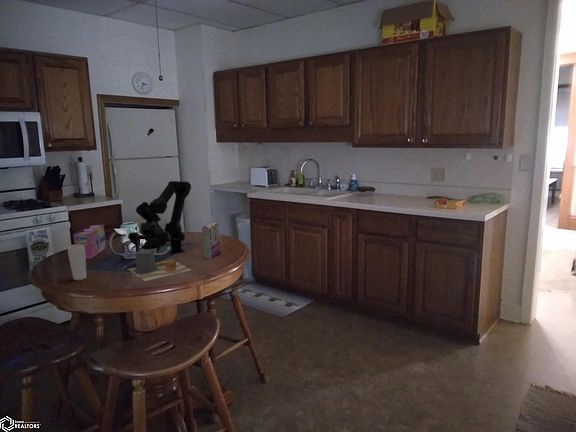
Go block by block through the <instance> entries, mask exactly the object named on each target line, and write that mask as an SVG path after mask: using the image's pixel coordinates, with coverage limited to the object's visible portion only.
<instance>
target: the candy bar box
mask: <svg viewBox="0 0 576 432" xmlns="http://www.w3.org/2000/svg"><path fill="white" fill-rule="evenodd" d="M201 233H202V247H203V258H204V259H205V258H206V259H214V257H217V256H218V255H219V254H221V247H220V246H221V245H220V244H221V243H220V228H219V222H209V223H207V224H206V225H205V224H204V226H202V227H201Z"/></svg>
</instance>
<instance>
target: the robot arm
mask: <svg viewBox="0 0 576 432" xmlns="http://www.w3.org/2000/svg"><path fill="white" fill-rule="evenodd" d="M167 183H168V184H167V185H166V187H165V188H164V190H163V191H162V192H161V194H160V195H159V196H158V197H157V198H155V199H153V200H152V201H151V202H150V203H148V202H146V201H143V202H142V203H141V204H139V205H137V207H136V208H135V212H136V213H137V215H139V217H141V218H142V219H143V220H145V222H141V223H140V229H141V230H142V233H144V235H139V234H138V233H139V232H138V231H137V232H136V231H135V232H129V233H128V235H127V238H128V239H129V241H130V243H132V244H133V245H134V247H135V251H136V252H135V253H137V252H138V251H139V250H140V247H141V245H140V239H158V245H157V246H156V251H155V252H156V253H157V254H158V253H159V252H160V250H161V249H162V248H163V247H164V246H165V245H166V244H168V243H169V244H170V249H169V250H168V252H170V253H172V254H177V253H183V252H185V249H183V248H182V242H183V241H185V239H186V235H185V234H184V233H183V232H182V231H183V230H182V225H181V221H182V216H183V215H182V214H183V210H184V205H185V201H186V198H187V197H188V196H189V195H190V192H191V189H192V185H191V183H190V182H189V181H177V180H170V181H168V182H167ZM173 195H175V200H174V203H173V208H172V212H171V217H170V221H169V222H168V223H167V222H166V223H165V227H164V229H163V230H164V232H160V233H159V234H160V235H156V234H157V231H158V228H157V227H158V224H159V222H160V221H162V218H160V216H159V215H158V214H161V215H162V214H164V213H165V212H166V210H167V208H168V202H169V201H170V199H171V198H172V197H173Z"/></svg>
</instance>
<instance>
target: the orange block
mask: <svg viewBox="0 0 576 432" xmlns="http://www.w3.org/2000/svg"><path fill="white" fill-rule="evenodd" d="M165 261H166V262H165V269H166V271H175V269H176V262H177V260H176V259H167V260H165Z"/></svg>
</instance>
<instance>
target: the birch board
mask: <svg viewBox="0 0 576 432" xmlns="http://www.w3.org/2000/svg"><path fill="white" fill-rule="evenodd" d="M166 261H167V260H163V261H158V262H155V266H156V268H155V269H154V270H153V271H152V272H144V273H137V268H136V267H131V268H128V269H127V271H129V272H131V273H132V274H133V275H135V276H137V277H138V278H140V280H141V279H142V280H143V281H144V282H147V281H152V280H157V279H161V278H164V277H167V276H173V275H176V274H180V273H185V272H189V271H192V269H191V268H189V267H188V266H186V265H184V264H181V263H180V262H178V261H176V269H175V271H166V269H165V262H166Z"/></svg>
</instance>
